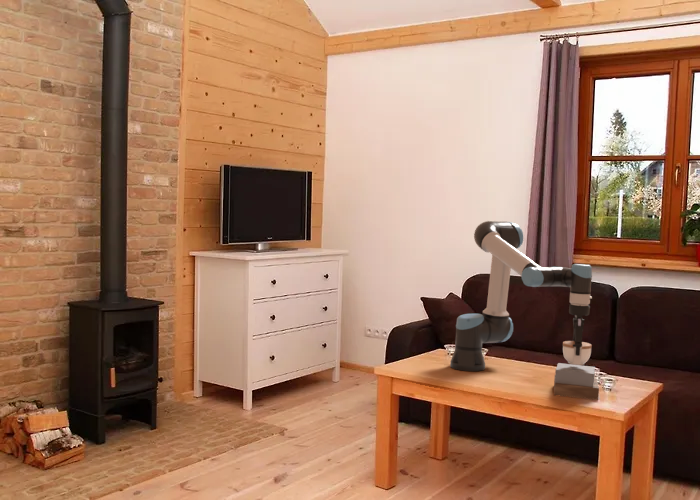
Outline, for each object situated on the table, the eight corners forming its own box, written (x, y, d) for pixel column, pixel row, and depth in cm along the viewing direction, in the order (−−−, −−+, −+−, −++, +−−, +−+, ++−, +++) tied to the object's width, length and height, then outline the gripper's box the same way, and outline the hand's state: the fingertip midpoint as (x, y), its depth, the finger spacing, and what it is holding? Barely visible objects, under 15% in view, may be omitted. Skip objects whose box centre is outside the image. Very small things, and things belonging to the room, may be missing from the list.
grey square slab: (557, 375, 296) (558, 363, 295) (594, 379, 291) (594, 366, 291) (554, 382, 282) (555, 369, 282) (593, 387, 278) (594, 373, 278)
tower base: (553, 387, 296) (554, 374, 296) (595, 391, 292) (596, 379, 292) (553, 396, 281) (554, 383, 281) (598, 401, 277) (598, 388, 276)
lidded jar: (568, 359, 294) (569, 335, 293) (594, 363, 287) (596, 339, 286) (557, 362, 285) (558, 338, 285) (584, 367, 279) (585, 343, 278)
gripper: (591, 308, 273) (587, 367, 274) (588, 301, 295) (584, 356, 296) (570, 307, 275) (566, 365, 276) (568, 300, 297) (565, 354, 298)
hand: (576, 360), depth 286 cm, fingers closed on lidded jar, 11 cm apart
